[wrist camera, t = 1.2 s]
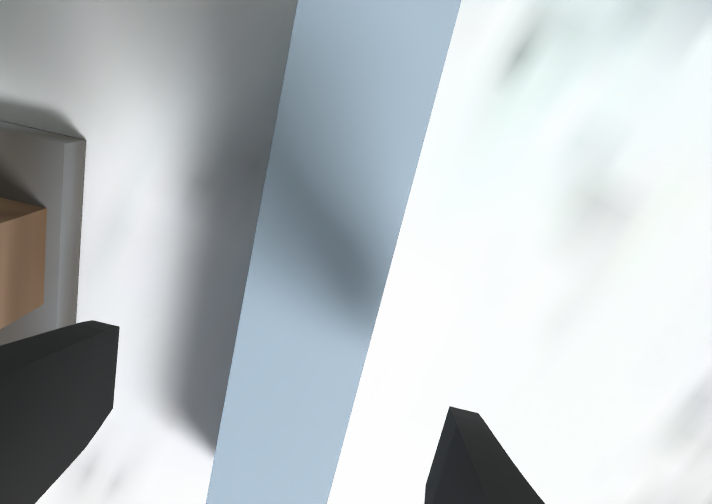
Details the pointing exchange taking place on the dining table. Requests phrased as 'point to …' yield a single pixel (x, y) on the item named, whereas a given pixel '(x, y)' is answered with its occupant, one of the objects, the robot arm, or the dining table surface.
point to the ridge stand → (39, 230)
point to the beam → (325, 239)
